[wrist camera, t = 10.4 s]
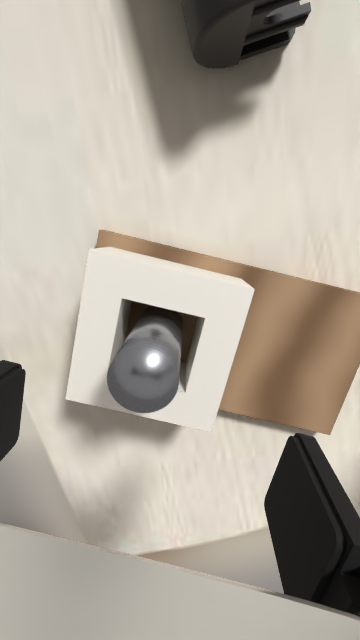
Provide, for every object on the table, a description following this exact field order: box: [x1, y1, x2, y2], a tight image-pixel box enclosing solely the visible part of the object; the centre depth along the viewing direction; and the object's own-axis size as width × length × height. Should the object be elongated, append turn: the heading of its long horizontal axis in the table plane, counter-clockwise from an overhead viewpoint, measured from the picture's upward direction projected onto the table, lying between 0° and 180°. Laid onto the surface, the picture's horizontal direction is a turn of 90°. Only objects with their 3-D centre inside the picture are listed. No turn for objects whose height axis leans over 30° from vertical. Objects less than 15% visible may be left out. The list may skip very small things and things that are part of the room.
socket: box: [66, 247, 255, 432], centre depth 22 cm, size 10×10×5 cm
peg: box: [107, 305, 183, 413], centre depth 19 cm, size 3×3×10 cm
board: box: [96, 230, 360, 435], centre depth 25 cm, size 22×12×2 cm, turn 77°
